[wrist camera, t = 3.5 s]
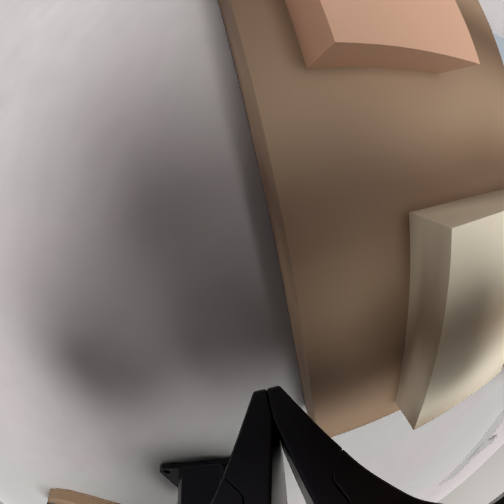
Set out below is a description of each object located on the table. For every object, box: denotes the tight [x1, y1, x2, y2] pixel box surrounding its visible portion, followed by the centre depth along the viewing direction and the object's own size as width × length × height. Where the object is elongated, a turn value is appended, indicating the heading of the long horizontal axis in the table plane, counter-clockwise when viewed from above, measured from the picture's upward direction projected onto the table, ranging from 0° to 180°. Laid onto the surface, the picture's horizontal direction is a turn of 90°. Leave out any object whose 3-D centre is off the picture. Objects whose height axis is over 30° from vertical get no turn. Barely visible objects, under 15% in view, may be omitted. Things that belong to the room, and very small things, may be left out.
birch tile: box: [395, 189, 504, 430], centre depth 8 cm, size 9×6×2 cm, turn 13°
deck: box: [218, 0, 504, 437], centre depth 9 cm, size 20×12×2 cm, turn 13°
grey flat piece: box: [438, 411, 504, 486], centre depth 26 cm, size 25×24×1 cm
